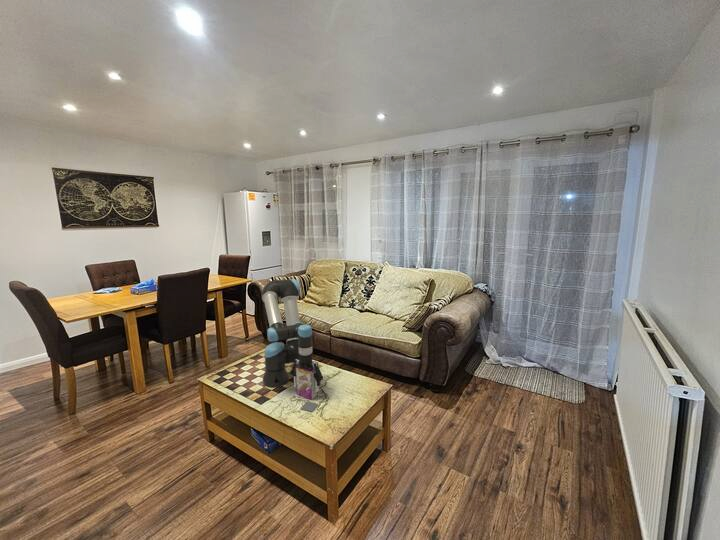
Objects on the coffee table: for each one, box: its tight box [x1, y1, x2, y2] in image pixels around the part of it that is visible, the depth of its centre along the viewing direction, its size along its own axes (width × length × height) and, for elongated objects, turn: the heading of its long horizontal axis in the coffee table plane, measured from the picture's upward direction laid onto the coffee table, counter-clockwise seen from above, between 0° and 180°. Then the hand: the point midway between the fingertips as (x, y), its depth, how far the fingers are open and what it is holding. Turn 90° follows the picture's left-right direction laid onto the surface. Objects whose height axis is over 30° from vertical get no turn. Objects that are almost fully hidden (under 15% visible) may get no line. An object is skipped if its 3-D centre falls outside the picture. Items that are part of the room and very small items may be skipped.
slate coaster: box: [300, 400, 319, 413], centre depth 161 cm, size 7×7×1 cm
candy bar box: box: [295, 366, 318, 401], centre depth 171 cm, size 11×5×16 cm, turn 59°
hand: (306, 388), depth 171 cm, fingers open, 13 cm apart
